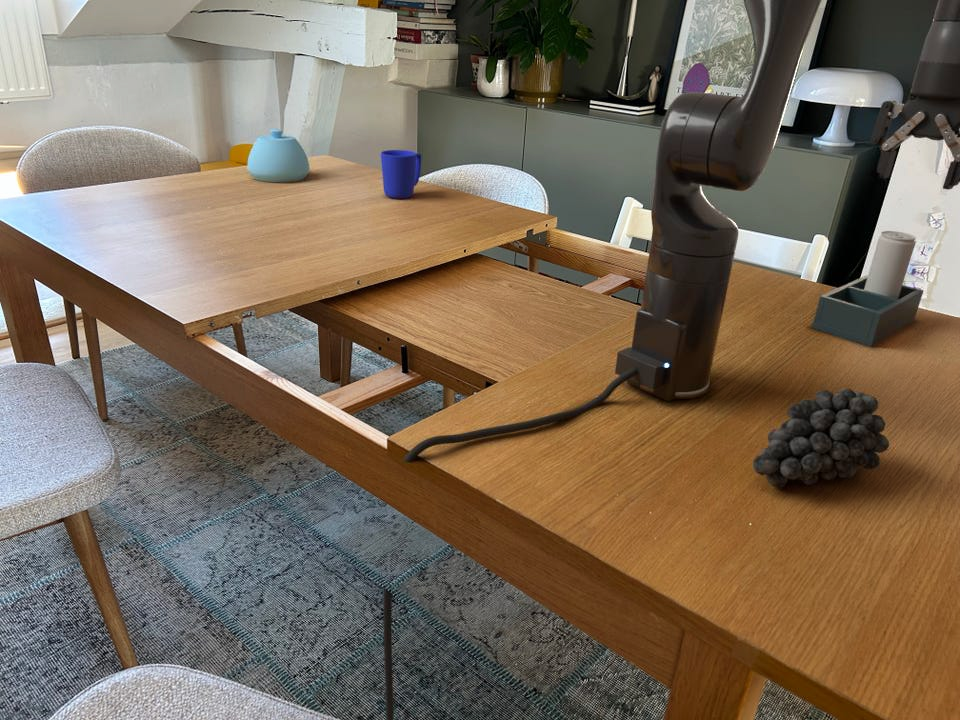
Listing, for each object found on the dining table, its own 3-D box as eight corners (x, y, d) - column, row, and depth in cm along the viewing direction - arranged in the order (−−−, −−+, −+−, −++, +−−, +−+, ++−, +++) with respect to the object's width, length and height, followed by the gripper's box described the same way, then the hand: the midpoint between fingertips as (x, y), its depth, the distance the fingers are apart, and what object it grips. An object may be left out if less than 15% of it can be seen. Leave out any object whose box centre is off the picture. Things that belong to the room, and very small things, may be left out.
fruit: (787, 418, 64) (904, 386, 70) (720, 403, 71) (830, 376, 77) (792, 512, 65) (906, 474, 71) (725, 488, 73) (833, 455, 78)
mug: (432, 193, 176) (433, 151, 172) (401, 202, 167) (401, 157, 163) (405, 188, 180) (405, 146, 176) (373, 196, 171) (373, 152, 167)
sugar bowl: (321, 175, 189) (319, 129, 184) (286, 186, 176) (283, 136, 172) (273, 169, 194) (269, 123, 189) (235, 178, 181) (231, 130, 176)
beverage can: (857, 312, 112) (880, 235, 107) (859, 303, 116) (880, 228, 110) (893, 319, 110) (917, 241, 105) (893, 309, 114) (916, 234, 109)
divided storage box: (913, 321, 113) (923, 290, 111) (871, 347, 103) (881, 313, 101) (857, 304, 119) (865, 275, 117) (811, 327, 108) (819, 296, 106)
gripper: (885, 56, 100) (853, 176, 107) (1004, 64, 90) (961, 195, 97) (905, 56, 104) (874, 172, 111) (1021, 64, 95) (979, 189, 102)
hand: (915, 182), depth 104 cm, fingers open, 8 cm apart
